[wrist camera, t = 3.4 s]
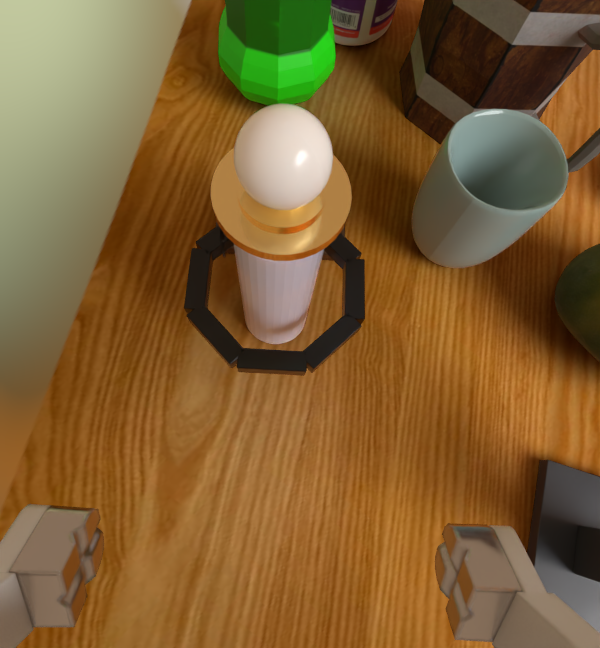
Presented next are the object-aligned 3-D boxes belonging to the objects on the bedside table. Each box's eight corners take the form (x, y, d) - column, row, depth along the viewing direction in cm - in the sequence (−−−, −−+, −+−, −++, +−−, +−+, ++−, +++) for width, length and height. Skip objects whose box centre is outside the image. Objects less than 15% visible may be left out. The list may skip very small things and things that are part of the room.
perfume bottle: (329, 312, 34) (405, 116, 15) (281, 370, 33) (300, 232, 14) (270, 268, 35) (272, 28, 16) (220, 322, 33) (157, 128, 14)
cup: (407, 285, 35) (459, 217, 26) (392, 199, 38) (434, 107, 28) (502, 279, 36) (586, 211, 26) (481, 195, 38) (551, 104, 29)
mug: (371, 62, 42) (423, -147, 28) (491, 25, 45) (595, -184, 30) (479, 235, 37) (610, 90, 23) (607, 183, 40) (798, 23, 25)
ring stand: (346, 393, 32) (367, 372, 25) (194, 385, 32) (173, 361, 25) (348, 196, 37) (366, 133, 30) (217, 186, 37) (205, 119, 30)
